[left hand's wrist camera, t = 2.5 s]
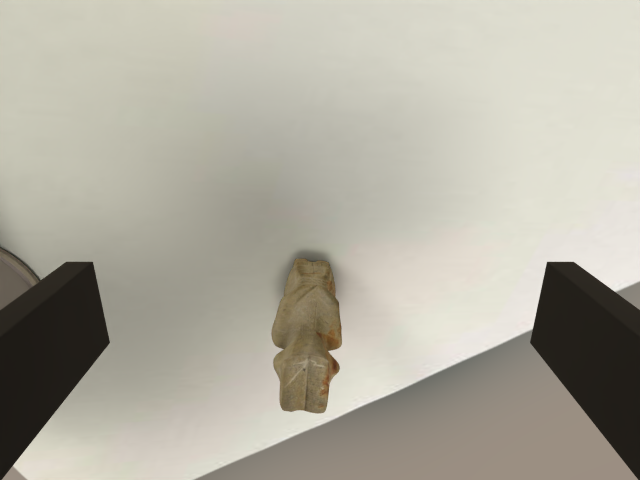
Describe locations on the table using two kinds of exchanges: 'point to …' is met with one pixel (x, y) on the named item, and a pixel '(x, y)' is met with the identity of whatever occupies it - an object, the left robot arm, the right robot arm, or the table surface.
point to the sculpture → (307, 337)
